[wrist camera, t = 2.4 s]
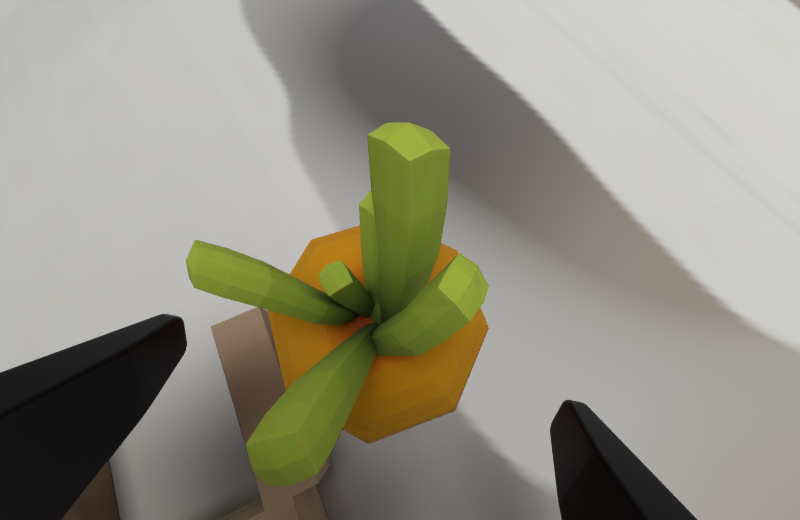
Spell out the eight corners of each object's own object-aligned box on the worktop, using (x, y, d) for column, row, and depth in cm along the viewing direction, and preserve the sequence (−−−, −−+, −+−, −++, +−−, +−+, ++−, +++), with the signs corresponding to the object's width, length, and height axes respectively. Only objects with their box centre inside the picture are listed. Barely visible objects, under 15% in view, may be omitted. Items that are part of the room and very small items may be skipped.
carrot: (376, 427, 16) (318, 769, 2) (312, 346, 18) (-10, 221, 3) (453, 355, 18) (735, 275, 3) (388, 282, 19) (394, -15, 4)
